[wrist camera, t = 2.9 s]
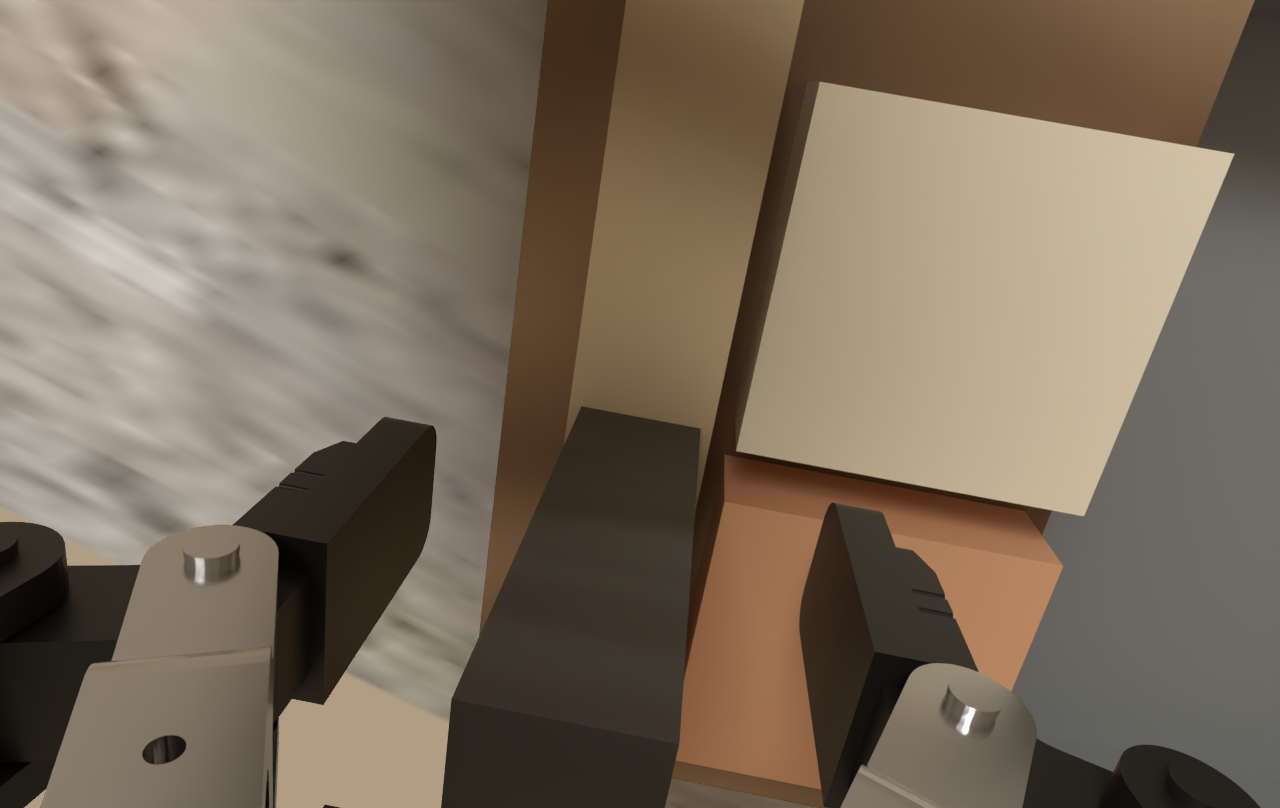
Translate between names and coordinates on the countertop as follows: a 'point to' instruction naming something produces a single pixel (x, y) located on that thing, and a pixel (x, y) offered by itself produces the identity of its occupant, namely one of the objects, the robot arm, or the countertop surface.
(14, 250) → the countertop surface
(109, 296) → the countertop surface
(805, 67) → the stepped wooden block
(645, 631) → the t-shaped block
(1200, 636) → the box
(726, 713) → the tile
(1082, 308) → the tile
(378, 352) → the countertop surface
